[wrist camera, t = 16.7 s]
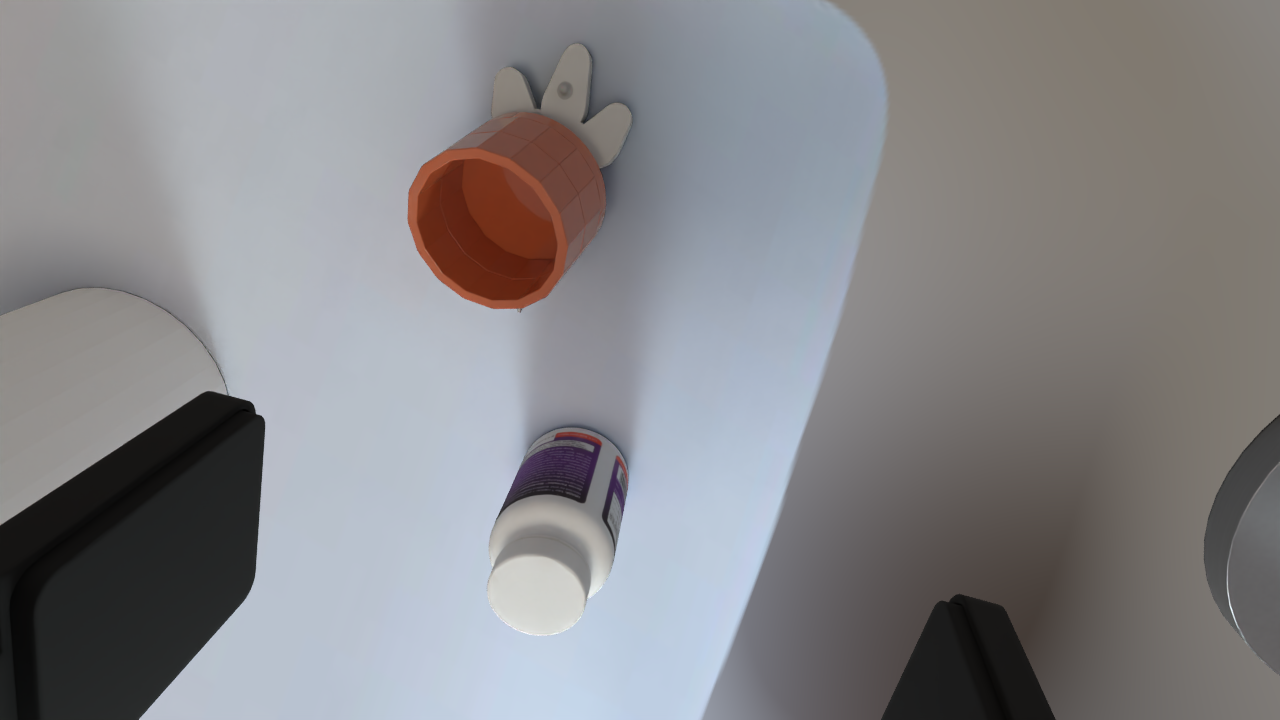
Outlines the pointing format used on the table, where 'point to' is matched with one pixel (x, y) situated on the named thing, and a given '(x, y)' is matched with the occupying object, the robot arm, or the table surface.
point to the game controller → (567, 104)
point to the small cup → (507, 209)
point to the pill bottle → (557, 531)
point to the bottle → (87, 384)
